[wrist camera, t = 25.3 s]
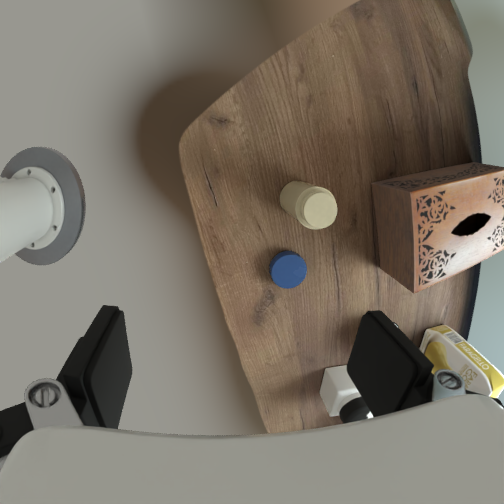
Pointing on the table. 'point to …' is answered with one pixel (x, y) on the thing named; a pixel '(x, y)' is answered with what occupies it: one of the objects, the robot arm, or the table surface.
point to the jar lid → (287, 269)
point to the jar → (309, 204)
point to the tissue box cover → (439, 222)
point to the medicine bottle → (342, 396)
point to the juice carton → (461, 360)
